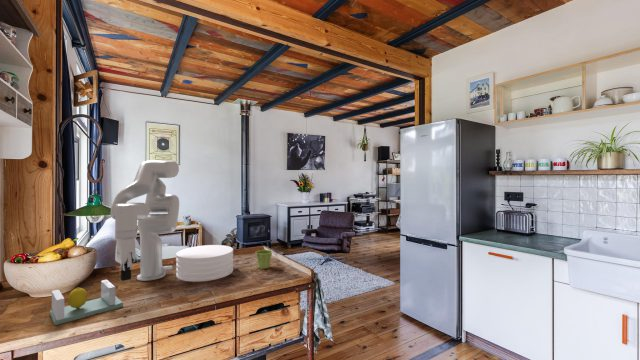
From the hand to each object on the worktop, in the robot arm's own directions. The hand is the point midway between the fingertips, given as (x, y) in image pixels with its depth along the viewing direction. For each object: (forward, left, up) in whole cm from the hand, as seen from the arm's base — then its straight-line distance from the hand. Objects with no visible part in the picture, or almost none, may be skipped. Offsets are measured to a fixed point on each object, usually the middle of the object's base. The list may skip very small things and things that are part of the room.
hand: (125, 279), depth 122 cm
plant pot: (-66, +5, -9) cm, 66 cm away
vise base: (+12, -1, -9) cm, 15 cm away
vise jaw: (+6, -1, -7) cm, 9 cm away
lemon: (+15, -1, -7) cm, 17 cm away
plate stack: (-40, -11, -9) cm, 42 cm away
